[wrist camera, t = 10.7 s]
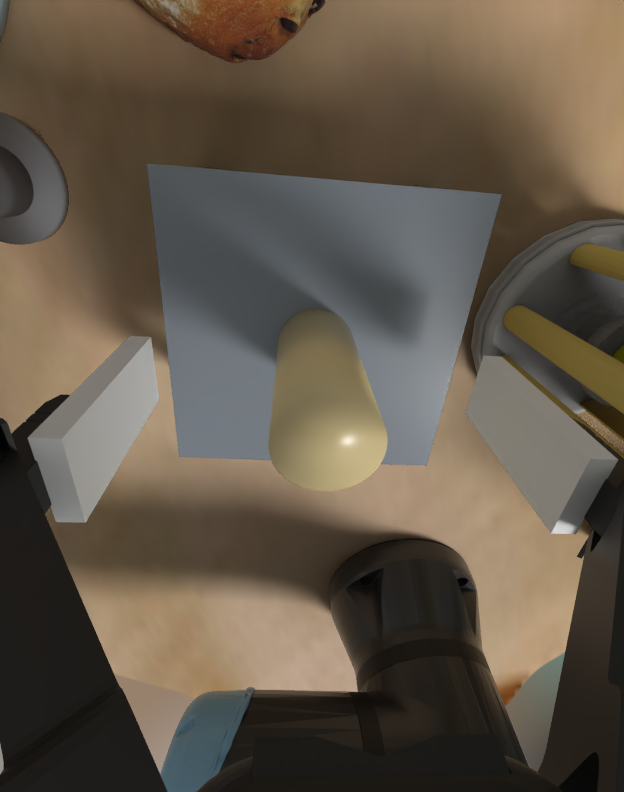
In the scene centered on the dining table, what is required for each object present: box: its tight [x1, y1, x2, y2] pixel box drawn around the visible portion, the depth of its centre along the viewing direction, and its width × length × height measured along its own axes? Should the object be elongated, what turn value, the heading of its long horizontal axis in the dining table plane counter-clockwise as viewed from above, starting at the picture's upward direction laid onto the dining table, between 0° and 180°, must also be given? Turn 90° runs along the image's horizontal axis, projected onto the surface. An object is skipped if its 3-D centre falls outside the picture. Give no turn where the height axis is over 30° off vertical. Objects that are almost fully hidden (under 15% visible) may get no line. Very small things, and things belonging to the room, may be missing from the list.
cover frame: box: [147, 164, 502, 491], centre depth 19 cm, size 14×14×17 cm
